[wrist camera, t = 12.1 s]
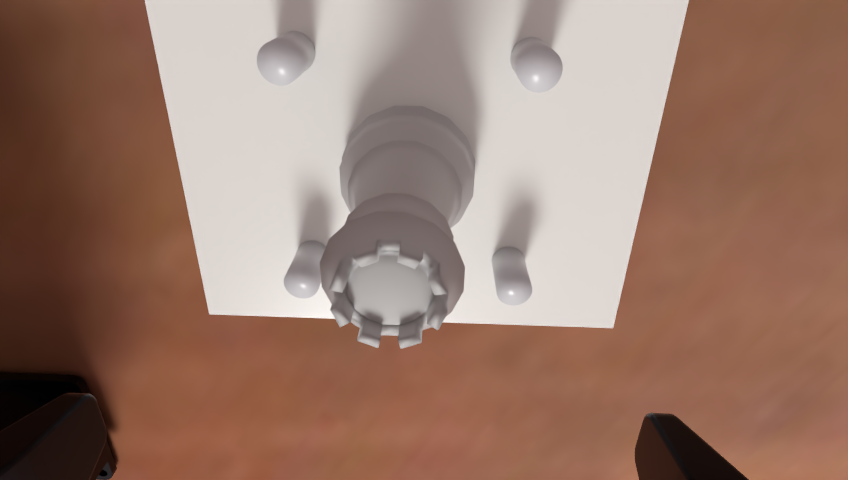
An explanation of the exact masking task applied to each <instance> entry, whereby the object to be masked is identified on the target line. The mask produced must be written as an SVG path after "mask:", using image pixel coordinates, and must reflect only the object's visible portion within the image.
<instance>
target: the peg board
mask: <svg viewBox="0 0 848 480" xmlns="http://www.w3.org/2000/svg"><path fill="white" fill-rule="evenodd" d="M688 2H689V0H145V4H146V9H147V14H148V18H149V23H150V28H151V33H152V38H153V43H154V48H155V53H156V57H157V62H158V67H159V72H160V77H161V82H162V87H163V91H164V96H165V101H166V106H167V111H168V116H169V121H170V125H171V130H172V135H173V140H174V145H175V150H176V155H177V160H178V164H179V169H180V174H181V179H182V184H183V189H184V194H185V198H186V203H187V208H188V213H189V218H190V223H191V228H192V232H193V237H194V242H195V247H196V252H197V257H198V262H199V266H200V271H201V276H202V281H203V286H204V291H205V296H206V301H207V305H208V310H209V314H216V315H245V316H274V317H304V318H333V319H335V317H334V316H333V314H332V312H331V310H330V308H331V305H332V304H331V302H330V300H329V299H328V297H327V295H326V293H325V292H324V290H323V288H322V284H321V273H320V260H321V258H322V255H323V253H324V250H325V248H326V245H327V243H328V240H329V239H330V238H331V237H332V236H333V235H334V234H335V233H336V232H337V231H338V230H339V229H341V228H342V227H343V226H344V225H345V222H346V220H347V217H348V215H349V214H350V211H349V209H348V207H347V205H346V203H345V201H344V199H343V197H342V194H341V186H340V170H339V167H340V165H341V162H342V156H343V153H344V150H345V148H346V145H347V142H348V140H349V137H350V135H351V133H352V132H353V131H354V130H355V129H356V128H357V127H358V126H359V125H360V124H361V123H362V122H363V121H364V120H365V119H366V118H367V117H368V116H369V115H372V114H374V113H377V112H379V111H382V110H384V109H387V108H389V107H392V106H395V105H396V106H423V107H426V108H428V109H430V110H433V111H435V112H437V113H439V114H442V115H444V116H446V117H448V118H449V119H450V120H451V121H452V122H453V123H454V124H455V125H456V126H457V127H458V128H459V129H460V130H461V132H462V133H463V134H464V135H465V136H466V137H467V139H468V142H469V145H470V147H471V150H472V153H473V156H474V158H475V177H474V191H473V197H472V199H471V201H470V203H469V205H468V207H467V209H466V211H465V213H464V215H463V216H462V218H461V220H460V221H459V222H458V223H457V224H456V225H454V226H453V227H452V228H451V231H452V234H453V236H454V239H453V241H454V242H455V244H456V246H457V249H458V251H459V253H460V256H461V258H462V261H463V263H464V265H465V276H464V291H463V293H462V295H461V297H460V298H459V300H458V302H457V304H456V305H455V307H454V309H453V311H452V312H451V313H450V314H449V315H447V316H446V317H445V319H444V321H443V322H450V323H479V324H508V325H537V326H566V327H595V328H613V326H614V322H615V318H616V313H617V309H618V305H619V300H620V296H621V292H622V287H623V283H624V279H625V274H626V270H627V266H628V261H629V257H630V253H631V248H632V244H633V240H634V235H635V231H636V227H637V222H638V218H639V214H640V209H641V205H642V201H643V196H644V192H645V188H646V183H647V179H648V175H649V171H650V166H651V162H652V158H653V153H654V149H655V145H656V140H657V136H658V132H659V127H660V123H661V119H662V114H663V110H664V106H665V101H666V97H667V93H668V88H669V84H670V80H671V75H672V71H673V67H674V62H675V58H676V54H677V49H678V45H679V41H680V36H681V32H682V28H683V23H684V19H685V15H686V10H687V6H688Z"/></svg>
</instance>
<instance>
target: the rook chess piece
mask: <svg viewBox="0 0 848 480" xmlns="http://www.w3.org/2000/svg"><path fill="white" fill-rule="evenodd" d="M339 170H340V186H341V194H342V197H343V199H344V201H345V203H346V205H347V207H348V209H349V211H350V214H349V215H348V217H347V220H346V222H345V225H344V226H343V227H342V228H341V229H339V230H338V231H337V232H336V233H335V234H334V235H333V236H332V237H331V238H330V239H329V240H328V243H327V245H326V248H325V250H324V253H323V255H322V258H321V260H320V273H321V284H322V288H323V290H324V292H325V293H326V295H327V297H328V299H329V300H330V302H331V304H332V305H331V308H330V310H331V312H332V314H333V316H334V317H335V319H336V321H337V323H338V324H339V326H340V327H342V326H344V325H345V324H347V323H349V322H351V323H353V324H354V325H356V326H358V327H359V328H360V330H359V334H358V339H357V341H359V342H362V343H365V344H368V345H371V346H374V347H376V348H378V347H379V342H380V338H381V335H395V336H398V341H399V345H400V348H401V349H402V348H405V347H409V346H412V345H415V344H419V343H422V330H424V329H428V328H431V327H433V328H435V329H437V330H438V329H439V328H440V326H441V324H442V322H443V321H444V319H445V317H446V316H447V315H449V314H450V313H451V312H452V311H453V309H454V307H455V305H456V304H457V302H458V300H459V298H460V297H461V295H462V293H463V291H464V276H465V265H464V263H463V261H462V258H461V256H460V253H459V251H458V249H457V246H456V244H455V242H454V241H453V239H454V236H453V234H452V231H451V228H452V227H453V226H454V225H456V224H457V223H458V222H459V221H460V220H461V218H462V216H463V215H464V213H465V211H466V209H467V207H468V205H469V203H470V201H471V199H472V197H473V191H474V177H475V158H474V156H473V153H472V150H471V147H470V145H469V142H468V139H467V137H466V136H465V135H464V134H463V133H462V132H461V130H460V129H459V128H458V127H457V126H456V125H455V124H454V123H453V122H452V121H451V120H450V119H449V118H448V117H446V116H444V115H442V114H439V113H437V112H435V111H433V110H430V109H428V108H426V107H423V106H396V105H395V106H392V107H389V108H387V109H384V110H382V111H379V112H377V113H374V114H372V115H369V116H368V117H367V118H366V119H365V120H364V121H363V122H362V123H361V124H360V125H359V126H358V127H357V128H356V129H355V130H354V131H353V132H352V133H351V135H350V137H349V140H348V142H347V145H346V148H345V150H344V153H343V156H342V162H341V165H340V167H339Z"/></svg>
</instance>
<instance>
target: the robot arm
mask: <svg viewBox="0 0 848 480" xmlns="http://www.w3.org/2000/svg"><path fill="white" fill-rule="evenodd" d="M106 438H107V429H106V425H105V423H104V420H103V417H102V414H101V411H100V409H99V406H98V403H97V400H96V398H95V397H94V396H93V395H92V394H90V393H89V390H88V387H87V385H86V383H85V381H84V380H83V379H82V378H80V377H78V376H74V375H51V374H24V373H0V480H96V479H99V480H107V479H110V478H111V477H112V476H113V474H114V473H115V471H116V469H117V467H116V464H115V461H114V459H113V456H112V453H111V450H110V448H109V445H108V442H107V439H106ZM635 463H636V467H637V472H638V476H639V480H749V479H747V478H746V477H745V476H744V475H743V474H742V473H740V472H739V471H738V470H737V469H736V468H735V467H734V466H732V465H731V464H730V463H729V462H728V461H727V460H726V459H724V458H723V457H722V456H721V455H720V454H719V453H718V452H716V451H715V450H714V449H713V448H712V447H711V446H710V445H708V444H707V443H706V442H705V441H704V440H703V439H702V438H700V437H699V436H698V435H697V434H696V433H695V432H694V431H692V430H691V429H690V428H689V427H688V426H687V425H685V424H684V423H683V422H682V421H681V420H680V419H679V418H677V417H676V416H674V415H672V414H664V413H649V414H647V415H646V416H645V417H644V420H643V423H642V426H641V430H640V433H639V437H638V440H637V443H636V447H635Z"/></svg>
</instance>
